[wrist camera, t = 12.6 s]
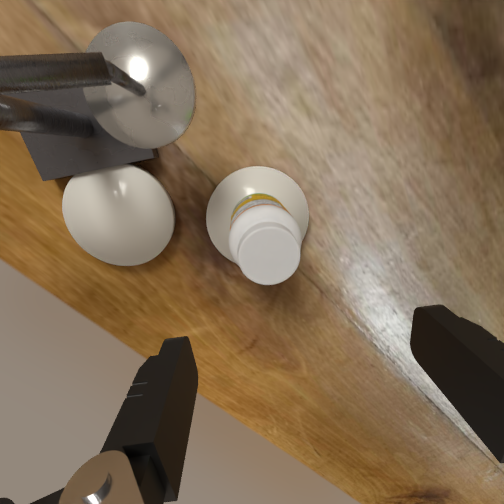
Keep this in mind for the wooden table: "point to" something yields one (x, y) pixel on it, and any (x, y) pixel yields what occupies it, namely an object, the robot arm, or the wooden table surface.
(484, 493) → the wooden table surface
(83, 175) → the dish high side
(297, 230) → the supplement bottle
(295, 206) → the dish low side
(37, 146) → the balance
